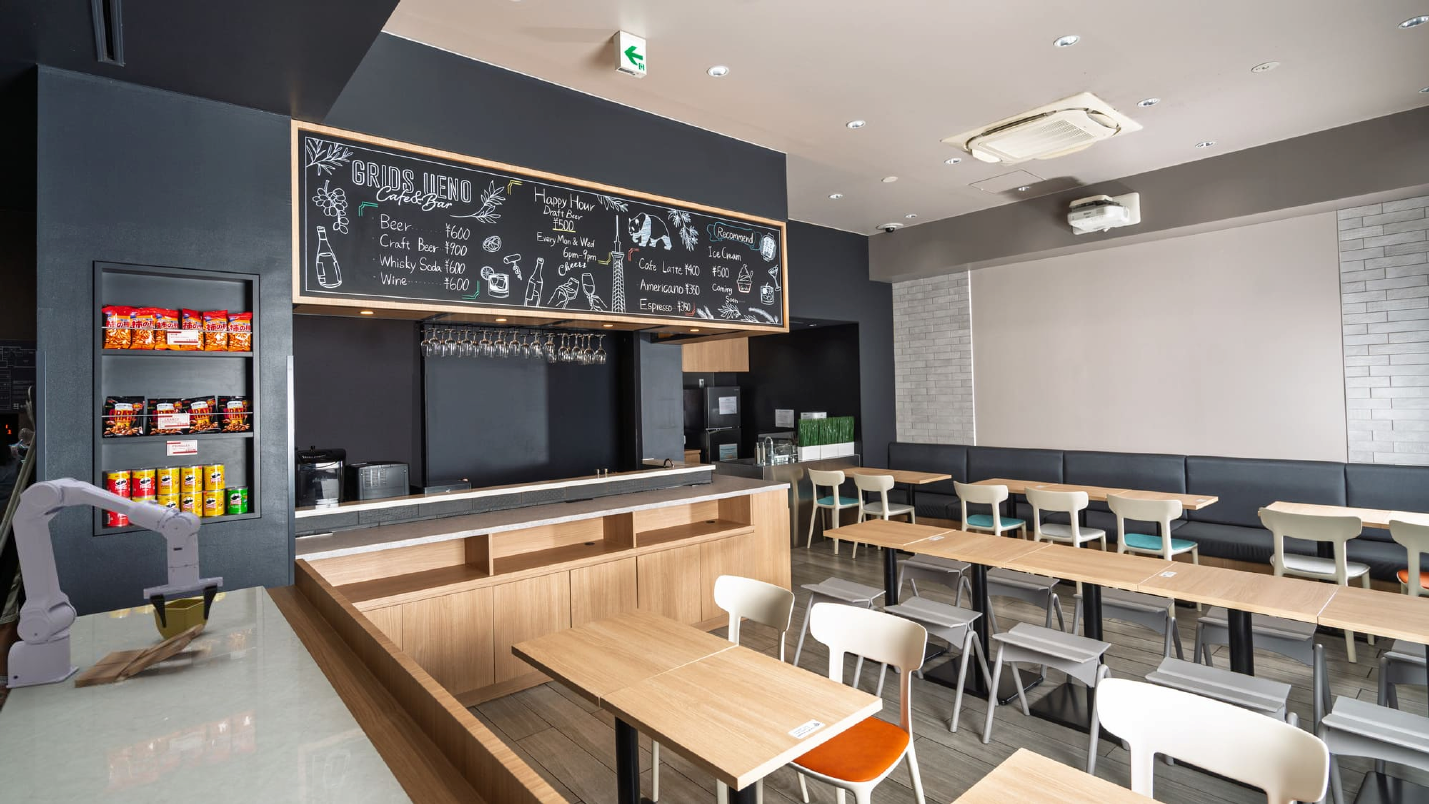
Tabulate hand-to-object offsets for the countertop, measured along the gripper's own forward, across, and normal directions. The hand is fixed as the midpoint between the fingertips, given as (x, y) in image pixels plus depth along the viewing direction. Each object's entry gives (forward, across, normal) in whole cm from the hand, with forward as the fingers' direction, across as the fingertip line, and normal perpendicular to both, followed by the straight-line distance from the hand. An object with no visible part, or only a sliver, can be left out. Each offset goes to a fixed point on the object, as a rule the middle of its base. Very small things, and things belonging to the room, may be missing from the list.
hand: (185, 622), depth 159 cm
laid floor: (+9, -12, +6) cm, 17 cm away
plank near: (+7, -5, -2) cm, 9 cm away
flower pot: (+10, +1, +23) cm, 25 cm away
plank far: (+7, -2, +8) cm, 11 cm away
